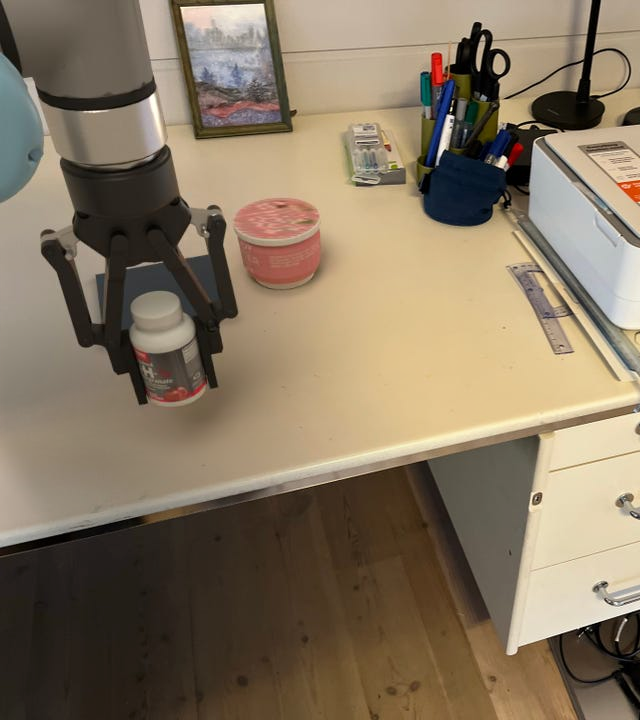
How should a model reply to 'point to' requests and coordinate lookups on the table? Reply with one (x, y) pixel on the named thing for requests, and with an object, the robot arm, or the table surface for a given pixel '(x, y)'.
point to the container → (279, 241)
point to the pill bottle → (166, 350)
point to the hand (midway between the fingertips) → (177, 386)
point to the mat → (160, 285)
